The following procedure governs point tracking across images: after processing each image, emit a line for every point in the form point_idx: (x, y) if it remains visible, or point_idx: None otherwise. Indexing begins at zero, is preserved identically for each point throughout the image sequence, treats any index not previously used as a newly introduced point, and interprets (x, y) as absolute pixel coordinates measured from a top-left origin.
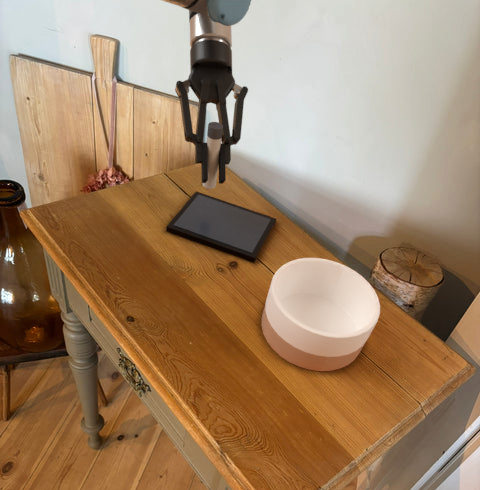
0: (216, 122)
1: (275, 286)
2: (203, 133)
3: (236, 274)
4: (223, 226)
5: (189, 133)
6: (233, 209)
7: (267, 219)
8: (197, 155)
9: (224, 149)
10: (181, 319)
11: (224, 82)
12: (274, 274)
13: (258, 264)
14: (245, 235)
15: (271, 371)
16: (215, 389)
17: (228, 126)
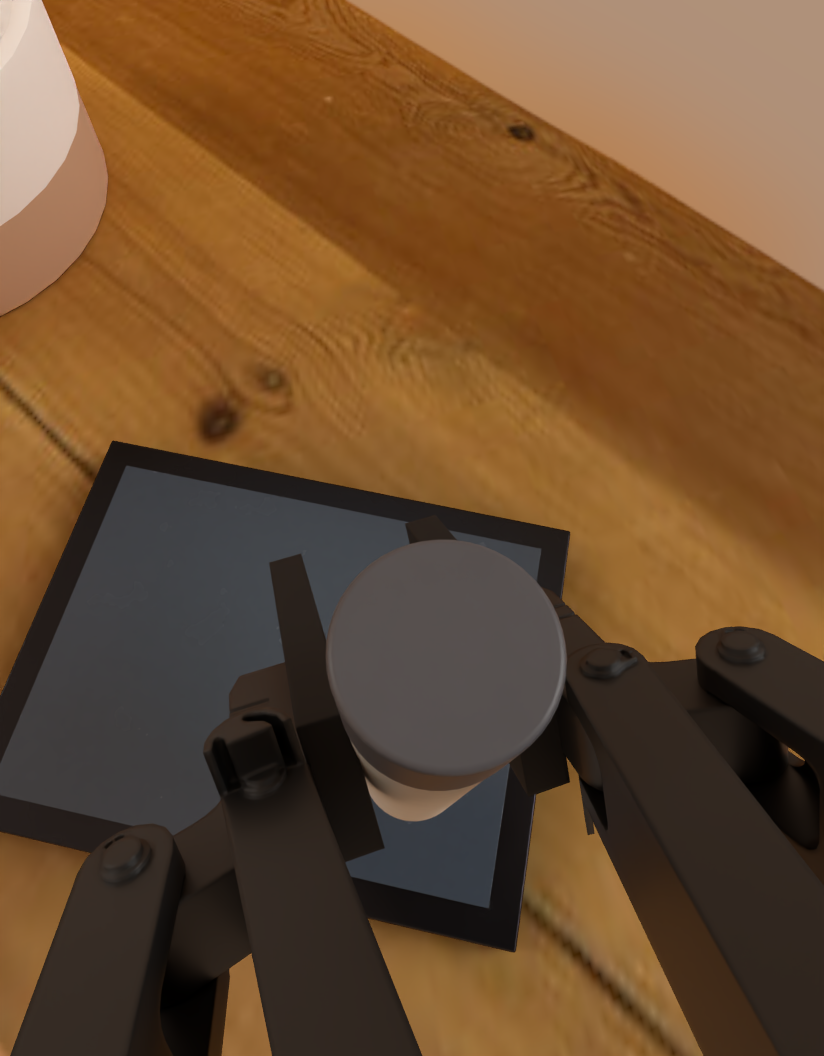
0: (455, 748)
1: (12, 12)
2: (591, 717)
3: (202, 373)
4: None
5: (748, 644)
6: None
7: (12, 781)
8: (553, 605)
9: (296, 690)
10: (373, 158)
11: None
12: (7, 68)
13: (101, 453)
14: (158, 582)
15: (88, 66)
16: (242, 9)
17: (258, 932)
